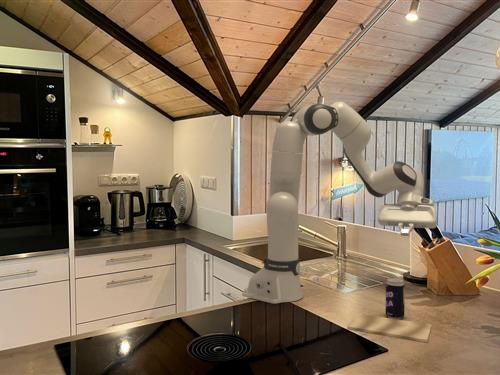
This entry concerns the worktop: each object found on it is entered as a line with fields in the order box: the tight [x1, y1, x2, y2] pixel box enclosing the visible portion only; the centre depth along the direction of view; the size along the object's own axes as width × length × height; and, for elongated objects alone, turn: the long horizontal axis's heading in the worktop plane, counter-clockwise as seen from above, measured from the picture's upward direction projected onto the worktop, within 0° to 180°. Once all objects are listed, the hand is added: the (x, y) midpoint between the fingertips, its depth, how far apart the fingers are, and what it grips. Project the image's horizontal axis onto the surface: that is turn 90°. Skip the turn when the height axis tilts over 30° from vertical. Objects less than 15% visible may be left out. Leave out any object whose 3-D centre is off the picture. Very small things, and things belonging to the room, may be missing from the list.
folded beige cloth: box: [347, 312, 432, 344], centre depth 128 cm, size 22×12×1 cm, turn 63°
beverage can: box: [385, 277, 406, 320], centre depth 136 cm, size 6×6×12 cm
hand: (404, 234), depth 154 cm, fingers closed
